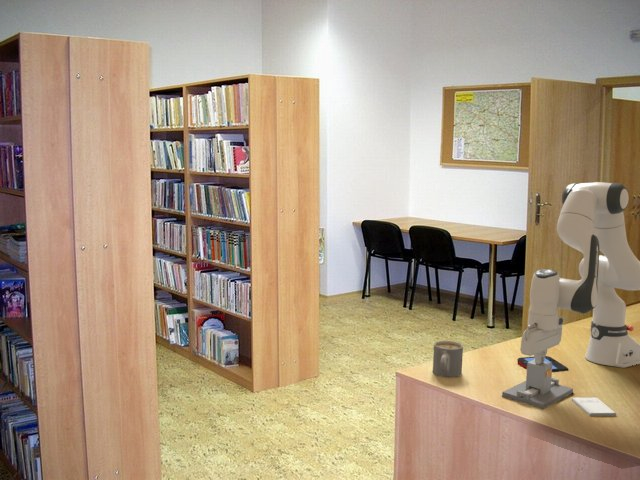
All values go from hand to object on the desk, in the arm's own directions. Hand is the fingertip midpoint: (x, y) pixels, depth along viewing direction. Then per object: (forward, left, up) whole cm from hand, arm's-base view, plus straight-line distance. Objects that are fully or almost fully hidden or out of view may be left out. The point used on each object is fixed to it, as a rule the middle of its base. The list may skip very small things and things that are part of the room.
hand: (539, 363), depth 216 cm
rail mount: (0, 0, -11) cm, 11 cm away
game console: (-19, -23, -11) cm, 32 cm away
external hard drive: (-10, +14, -11) cm, 21 cm away
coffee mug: (+19, -26, -11) cm, 34 cm away
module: (0, 0, -9) cm, 9 cm away
